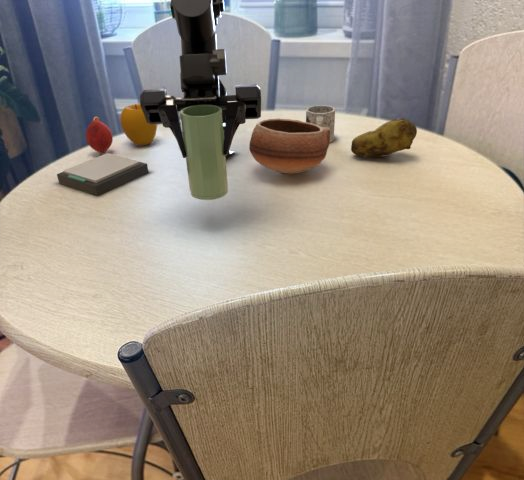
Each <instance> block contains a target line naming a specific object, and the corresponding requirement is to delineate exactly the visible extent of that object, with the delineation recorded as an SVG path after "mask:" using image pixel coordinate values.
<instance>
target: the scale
mask: <svg viewBox="0 0 524 480" xmlns="http://www.w3.org/2000/svg"><path fill="white" fill-rule="evenodd" d="M149 173H150V172H149V166H148V163H146V162H142V161H139V160H137V159H132V158H128V157H125V156H120V155H117V154H113V153H109V152H105V153H103V154H101V155H99V156H96V157H93V158H92V159H89V160H86V161H83V162H82V163H79V164H76V165H73V166H71V167H69V168H67V169H64V170H62V171H61V172H59V173H57V174H56V176H57V181H58V184H60V185H63V186H65V187H69V188H72V189H75V190H77V191H81V192H85V193H86V194H87V193H88V194H91V195H93V196H97V197H99V196H101V195H104V194H106V193H109V192H110V191H112V190H114V189H116V188H119V187H121V186H123V185H125V184H127V183H129V182H131V181H134V180H136V179H139V178H141V177H142V176H145V175H147V174H149Z"/></svg>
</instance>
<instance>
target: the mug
mask: <svg viewBox="0 0 524 480" xmlns="http://www.w3.org/2000/svg"><path fill="white" fill-rule="evenodd" d="M335 121H336V107H334V106H331V105H325V104H324V105H323V104H320V105H319V104H317V105H311V106H308V107H307V108H306V109H305V122H308V123H312V124H316V125H318V126H321V127H328V128H329V129H330V143H332V142H333V141H334V140H335V123H336V122H335Z"/></svg>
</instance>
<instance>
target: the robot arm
mask: <svg viewBox="0 0 524 480" xmlns="http://www.w3.org/2000/svg"><path fill="white" fill-rule="evenodd" d="M169 9H170V13H171V14H170V15H171V18H172V19H173V20H174V21H175V23H176V27H177V28H176V29H177V32H178V35H179V37H180V48H181V55H179V66H180V67H179V68H180V69H179V70H180V74H179V75H180V76H179V77H180V89H181V92H182V93H183V97H182V96H181V97H175V96H174V95H168V93H167V91H166V90H167V89H166V88H157V89H156V88H154V89H153V88H152V89H143V90H142V92H140V95H139V100H140V101H139V104H140V106H141V108H142V111H143V113H144V116H145V119H146V121H147V123H150V124H157V125H160V124H161V125H162V127H163V128H165V129H169V130H170V131H171V133H172V135H173V136H174V138H175V140H176V142H177V145H178V148H179V151H180V153H181V156H182V158H183V159H186V154H185V147H184V139H183V131H182V124H181V117H180V111H181V110H182V109H184V108H186V107H189V106H194V105H215V106H219V107H220V108H222V118H223V131H224V153H225V157H226V159H229V157H232V156H234V155H235V154H236V152H235V151H234V150H230V149H231V145H232V142H233V140H234V137H235V134H236V133H237V130H238V128H239V127H240V125H243V124H246V120H258V119H260V118H261V117H262V92H261V91H262V90H261V87H260V86H258V84H255V83H254V84H239V85H238V84H237V85H236V84H235V94H229V95H227V89H226V87H225V86H224V84H223V82H222V80H221V79H220V76H227V74H228V73H227V57H226V49H225V48H220V49H219V48H218V44H217V43H218V41H217V40H218V39H217V32H216V26H218V19H219V18H220V19H221V18H222V16H223V12H225V1H224V0H170V3H169Z"/></svg>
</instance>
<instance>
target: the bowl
mask: <svg viewBox="0 0 524 480" xmlns="http://www.w3.org/2000/svg"><path fill="white" fill-rule="evenodd" d="M330 143H331V142H330V129H329V128H328V127H321V126H318V125H316V124H312V123H308V122H306V121H302V120H298V119H289V118H268V119H263V120H259V121H258V122H257V123H256V124H255V126H254V128H253V130H252V133H251V136H250V140H249V147H248V149H249V152H250V154H251V156H252V157H253V159H254V160H255V161H256V163H259V164H260V165H261V166H263V167H265V168H266V169H268V170H272V171H274V172H277V173H281V174H298V173H299V174H300V173H303V172H306V171H308V170H311V169H313V168H314V167H316V166H318V165H319V164H321V163H322V162H323V161H324V159H326V156H327V154H328V149H329V147H330Z"/></svg>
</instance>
